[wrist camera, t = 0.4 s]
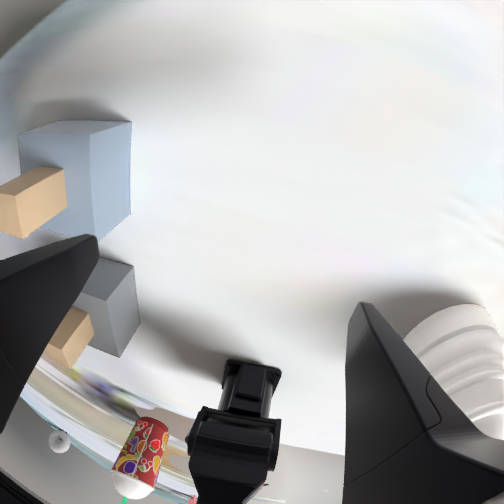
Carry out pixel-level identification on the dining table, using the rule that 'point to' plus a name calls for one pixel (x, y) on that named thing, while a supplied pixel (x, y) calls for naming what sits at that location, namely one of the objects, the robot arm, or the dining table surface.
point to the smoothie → (140, 459)
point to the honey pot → (465, 362)
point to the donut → (55, 436)
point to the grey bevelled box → (98, 315)
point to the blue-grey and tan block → (69, 179)
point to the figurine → (192, 500)
